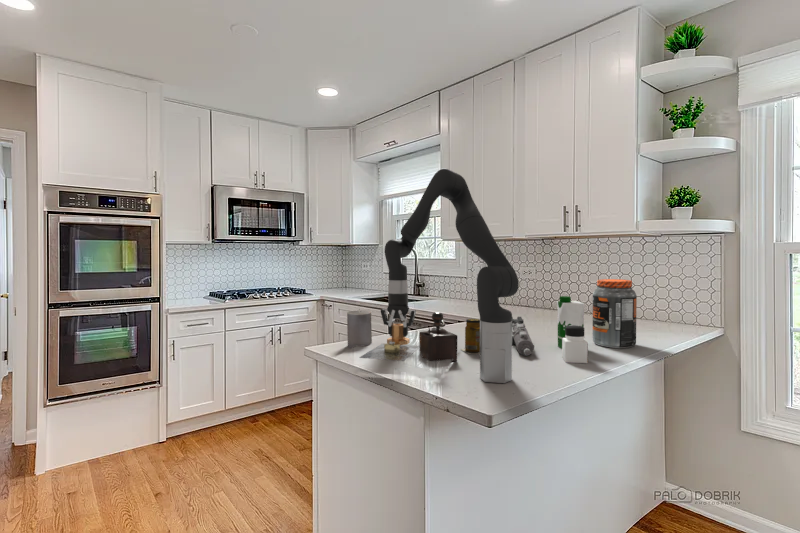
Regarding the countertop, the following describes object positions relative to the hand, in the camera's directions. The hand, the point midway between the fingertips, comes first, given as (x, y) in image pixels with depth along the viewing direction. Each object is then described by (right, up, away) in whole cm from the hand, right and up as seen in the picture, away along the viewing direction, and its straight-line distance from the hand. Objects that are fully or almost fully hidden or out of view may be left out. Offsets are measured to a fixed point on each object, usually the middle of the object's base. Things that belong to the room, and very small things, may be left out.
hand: (398, 336), depth 166 cm
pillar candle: (-16, -5, +8) cm, 18 cm away
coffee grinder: (+14, -6, -17) cm, 23 cm away
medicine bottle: (+60, -6, -17) cm, 63 cm away
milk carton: (+66, -5, +1) cm, 66 cm away
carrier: (-2, -6, -7) cm, 9 cm away
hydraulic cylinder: (+47, -5, +3) cm, 48 cm away
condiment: (+28, -6, -3) cm, 29 cm away
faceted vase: (0, -3, 0) cm, 3 cm away
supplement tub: (+86, -5, +7) cm, 86 cm away
